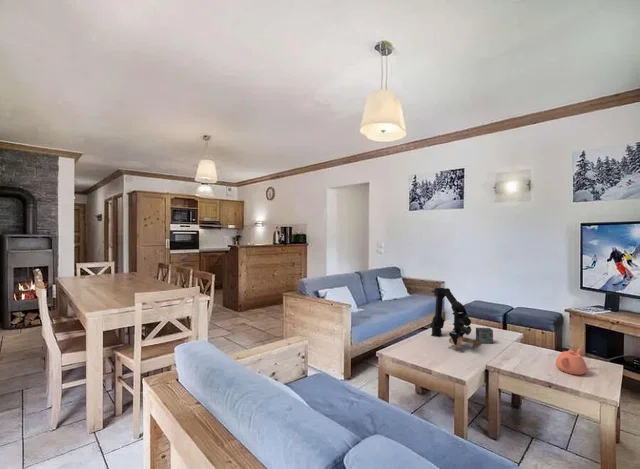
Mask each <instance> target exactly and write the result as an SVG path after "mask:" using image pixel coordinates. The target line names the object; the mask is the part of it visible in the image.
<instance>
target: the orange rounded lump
mask: <svg viewBox="0 0 640 469" xmlns="http://www.w3.org/2000/svg"><path fill="white" fill-rule="evenodd" d="M581 351H582V348H581V347H579V348H577V350H576V352H575V351H574V350H571V349H568V350H564V351H562V352H560V353H559V354H558V356H557V357H556V359H555V366H556V367H557V369H558V370H560V371H561V372H563V371H564V372H563V373H567V374H571V375H574V374H575V375H576V376H579V375H580V376H581V375H584V374H586V373H587V371H588V366H587V364H586V361H585V360H584V358H583V356H582V352H581Z"/></svg>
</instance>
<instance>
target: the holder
mask: <svg viewBox="0 0 640 469" xmlns="http://www.w3.org/2000/svg"><path fill="white" fill-rule="evenodd" d="M448 341H449V344H451V337H450V338H449V339H448ZM462 342H465V343H469V344H472V347H473V349H476V348H478V347H479V346H481V343H480V341H479V340H476V338H474V339H473V338H470V337H464V336H463V338H462Z"/></svg>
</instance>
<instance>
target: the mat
mask: <svg viewBox="0 0 640 469" xmlns="http://www.w3.org/2000/svg"><path fill="white" fill-rule="evenodd" d="M448 349H450V350H454V351H458V352H462V353H465V352H466V351H467V350H468V349H469V347H465V346H462V349H456V348H454V344H450V345H449V346H448Z"/></svg>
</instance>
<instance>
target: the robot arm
mask: <svg viewBox="0 0 640 469" xmlns="http://www.w3.org/2000/svg"><path fill="white" fill-rule="evenodd" d="M433 294H434V297H435V313H434V316H433V318H432V321H431V323H430V324H429V327H430V328H431V335H430V336H433V337H437V338H440V337H442V335H443V334H442V332H443V331H442V329H443V328H444V325H445V319H444V318H443V301H444V298H446V299H447V301H448V302H449V304H450V305H451V310H452V312H453V313H452V315H453V322H452V325H453V328H452V330H451V331H450V332H448V336H449V337H450V338H452V340H453V342H454V344H455V345H457V340H458V338H459V336H461V337H462V338H463V337H464V335H467V336H469V335H470V334H471V332H472V327H471V324H472V321H471V320H472V319H470V318H469V316H468V313H467V310H466V309H465V306H464V304H462V303H461V302H460V301H458V300H457V299H456V297H455V296H454V295H453V293H452V292H451V289H450V288H448V287H447V288H446V287H435V288H434V290H433ZM454 344H453V345H454Z"/></svg>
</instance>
